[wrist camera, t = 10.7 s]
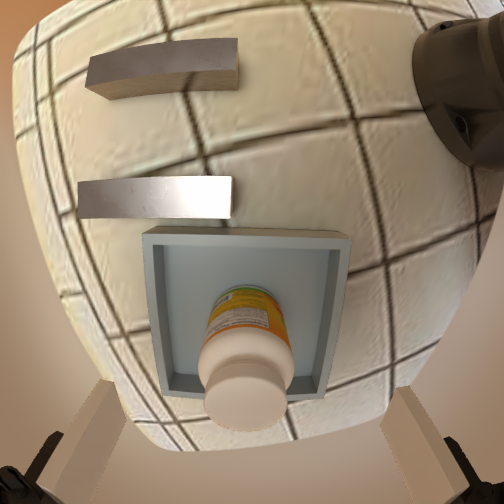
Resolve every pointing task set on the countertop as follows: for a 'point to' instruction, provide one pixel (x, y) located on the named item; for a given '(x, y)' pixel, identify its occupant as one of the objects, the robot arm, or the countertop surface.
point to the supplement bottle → (246, 360)
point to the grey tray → (244, 274)
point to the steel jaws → (155, 82)
